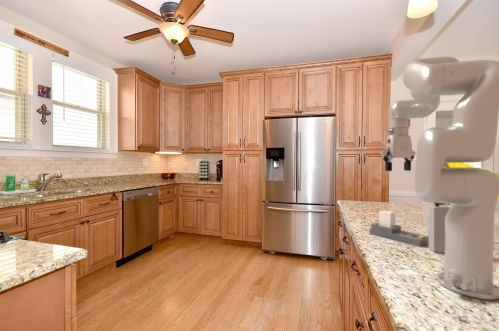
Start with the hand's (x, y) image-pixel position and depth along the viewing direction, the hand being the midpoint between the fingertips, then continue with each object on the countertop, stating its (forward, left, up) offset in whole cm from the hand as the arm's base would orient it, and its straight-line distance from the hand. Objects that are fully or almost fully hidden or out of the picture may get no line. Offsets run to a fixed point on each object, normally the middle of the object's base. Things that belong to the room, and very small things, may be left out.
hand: (398, 170), depth 107 cm
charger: (-4, +3, -27) cm, 27 cm away
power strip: (-4, -2, -30) cm, 30 cm away
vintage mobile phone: (-8, -18, -29) cm, 35 cm away
